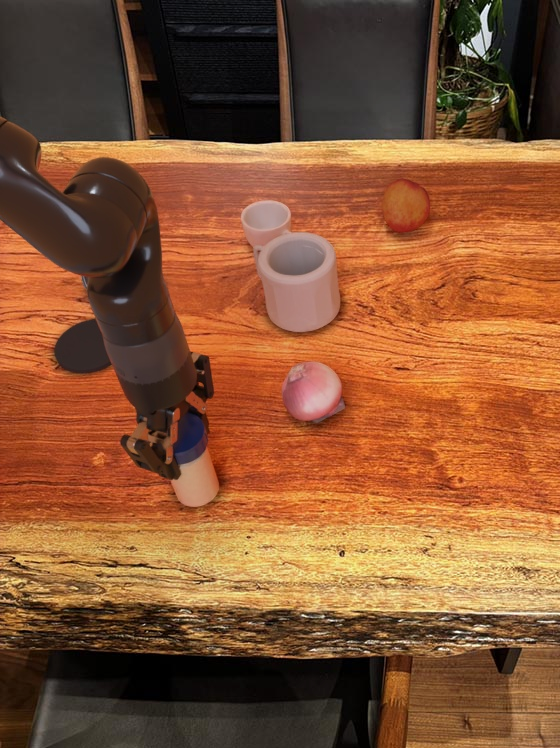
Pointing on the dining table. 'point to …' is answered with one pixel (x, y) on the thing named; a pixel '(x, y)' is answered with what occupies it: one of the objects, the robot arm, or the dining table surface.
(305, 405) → the onion
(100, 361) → the trivet
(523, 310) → the dining table surface
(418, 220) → the fruit
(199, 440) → the jar lid
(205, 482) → the jar
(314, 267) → the mug
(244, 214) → the teacup
